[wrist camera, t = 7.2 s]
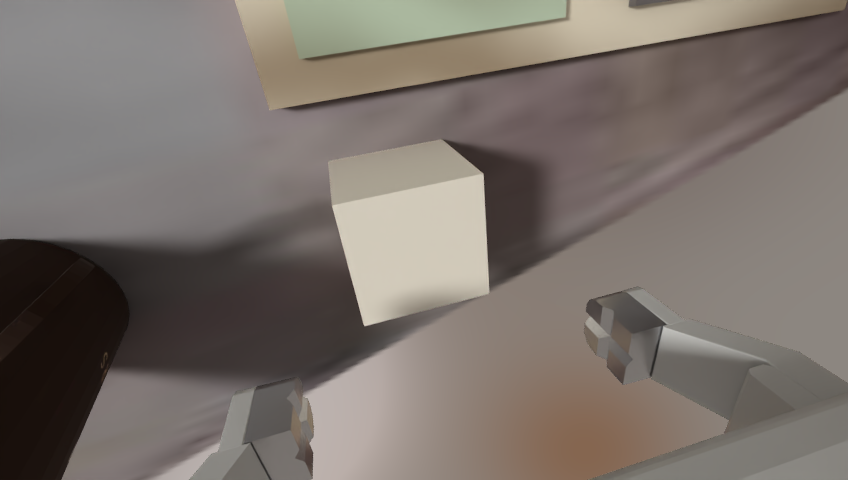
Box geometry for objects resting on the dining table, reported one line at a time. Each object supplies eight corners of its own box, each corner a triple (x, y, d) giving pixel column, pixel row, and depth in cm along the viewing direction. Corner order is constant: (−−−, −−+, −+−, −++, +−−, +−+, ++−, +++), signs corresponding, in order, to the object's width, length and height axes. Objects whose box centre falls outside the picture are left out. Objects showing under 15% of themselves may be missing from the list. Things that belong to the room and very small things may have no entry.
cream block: (328, 160, 16) (331, 205, 12) (441, 138, 17) (483, 173, 13) (353, 259, 19) (364, 326, 14) (451, 236, 19) (489, 293, 15)
